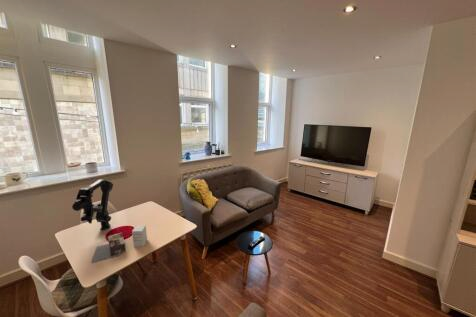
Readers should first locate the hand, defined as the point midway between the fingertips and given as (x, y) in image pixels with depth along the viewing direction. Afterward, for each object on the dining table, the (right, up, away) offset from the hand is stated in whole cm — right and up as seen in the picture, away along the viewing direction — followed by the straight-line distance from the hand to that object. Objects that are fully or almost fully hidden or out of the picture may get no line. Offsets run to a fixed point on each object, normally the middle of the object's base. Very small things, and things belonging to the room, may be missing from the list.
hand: (90, 223), depth 147 cm
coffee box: (+20, -10, -2) cm, 23 cm away
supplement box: (+39, -15, -2) cm, 42 cm away
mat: (+20, -16, -11) cm, 28 cm away
